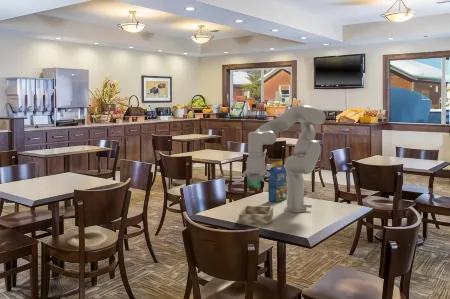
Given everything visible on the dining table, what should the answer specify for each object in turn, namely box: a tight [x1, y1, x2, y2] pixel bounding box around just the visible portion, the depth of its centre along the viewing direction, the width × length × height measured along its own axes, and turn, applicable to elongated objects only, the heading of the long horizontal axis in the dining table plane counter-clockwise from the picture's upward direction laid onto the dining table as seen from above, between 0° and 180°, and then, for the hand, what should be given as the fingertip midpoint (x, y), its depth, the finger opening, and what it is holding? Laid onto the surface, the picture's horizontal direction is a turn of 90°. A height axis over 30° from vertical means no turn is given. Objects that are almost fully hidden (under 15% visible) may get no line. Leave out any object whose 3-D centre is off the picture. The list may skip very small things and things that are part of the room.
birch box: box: [238, 205, 274, 226], centre depth 234 cm, size 16×20×5 cm
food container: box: [246, 175, 265, 195], centre depth 232 cm, size 12×6×10 cm, turn 151°
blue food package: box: [267, 160, 287, 203], centre depth 277 cm, size 6×12×25 cm, turn 140°
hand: (256, 188), depth 232 cm, fingers closed on food container, 5 cm apart
